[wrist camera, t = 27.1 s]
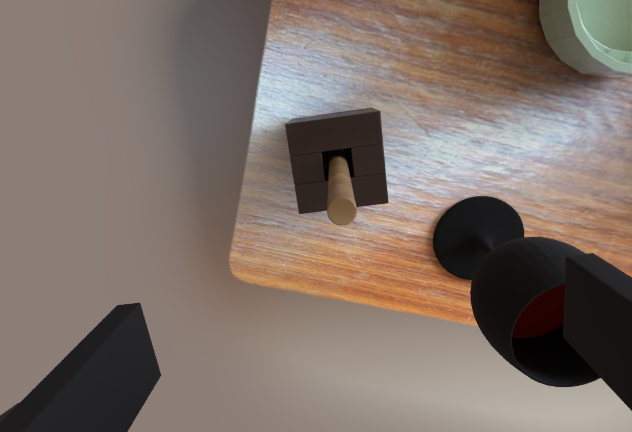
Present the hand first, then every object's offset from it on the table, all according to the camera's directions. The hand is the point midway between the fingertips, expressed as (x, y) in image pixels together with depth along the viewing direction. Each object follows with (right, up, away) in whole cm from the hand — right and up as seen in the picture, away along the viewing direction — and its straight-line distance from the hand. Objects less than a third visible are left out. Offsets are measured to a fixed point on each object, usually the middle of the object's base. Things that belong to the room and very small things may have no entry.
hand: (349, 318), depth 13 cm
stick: (+1, +10, +33) cm, 35 cm away
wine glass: (+18, +1, +36) cm, 40 cm away
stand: (+1, +10, +33) cm, 35 cm away
